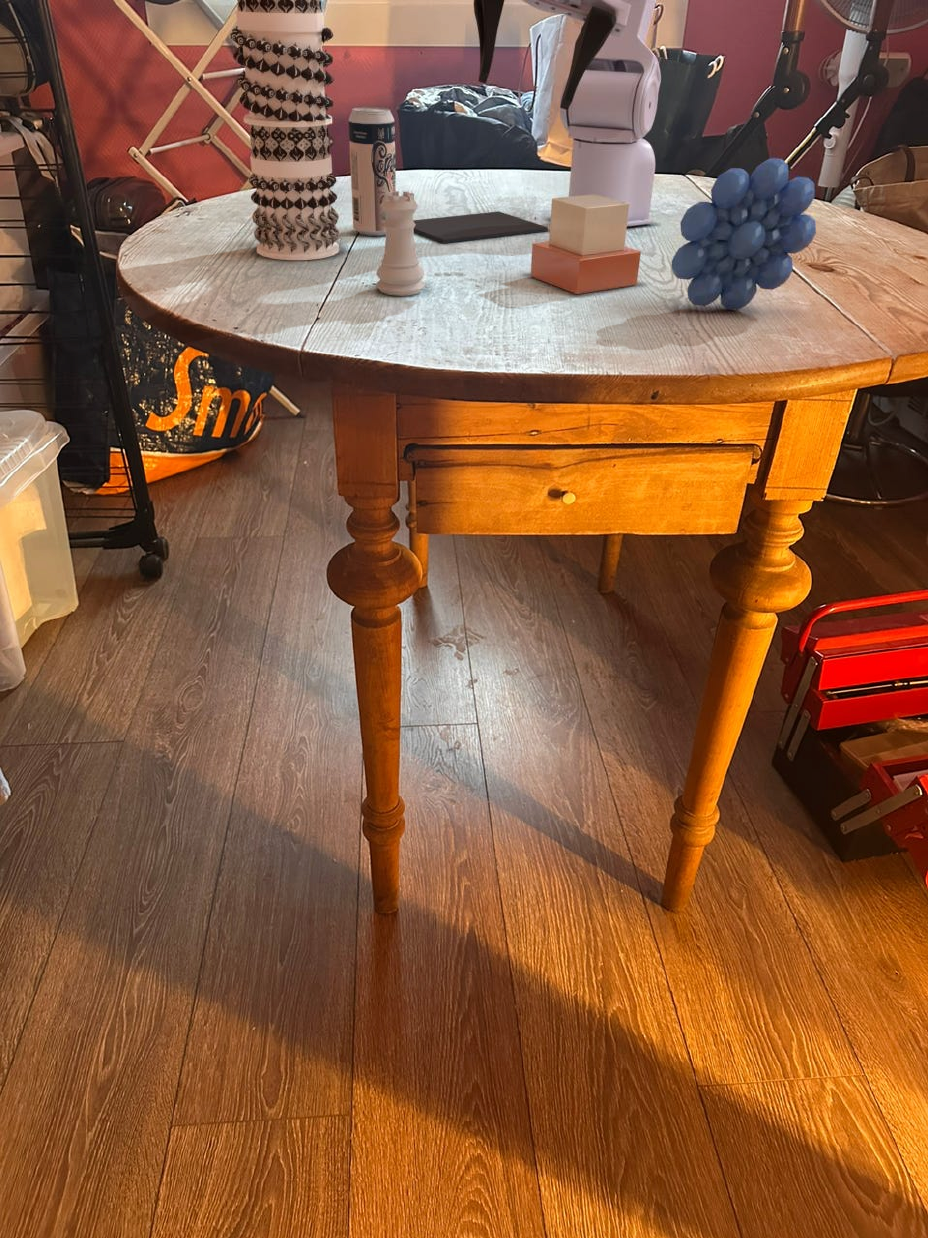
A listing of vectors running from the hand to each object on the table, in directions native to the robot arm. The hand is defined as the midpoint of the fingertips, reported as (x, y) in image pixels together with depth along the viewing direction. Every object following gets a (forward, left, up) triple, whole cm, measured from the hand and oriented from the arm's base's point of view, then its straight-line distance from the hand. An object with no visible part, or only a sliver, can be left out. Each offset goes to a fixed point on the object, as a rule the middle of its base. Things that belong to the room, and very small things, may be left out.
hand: (525, 91), depth 82 cm
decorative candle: (+16, -17, -15) cm, 28 cm away
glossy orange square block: (-3, +6, -15) cm, 17 cm away
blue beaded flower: (-9, +19, -15) cm, 26 cm away
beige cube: (-3, +6, -12) cm, 14 cm away
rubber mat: (-6, -18, -15) cm, 24 cm away
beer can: (+5, -21, -15) cm, 26 cm away
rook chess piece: (+14, +1, -15) cm, 21 cm away
